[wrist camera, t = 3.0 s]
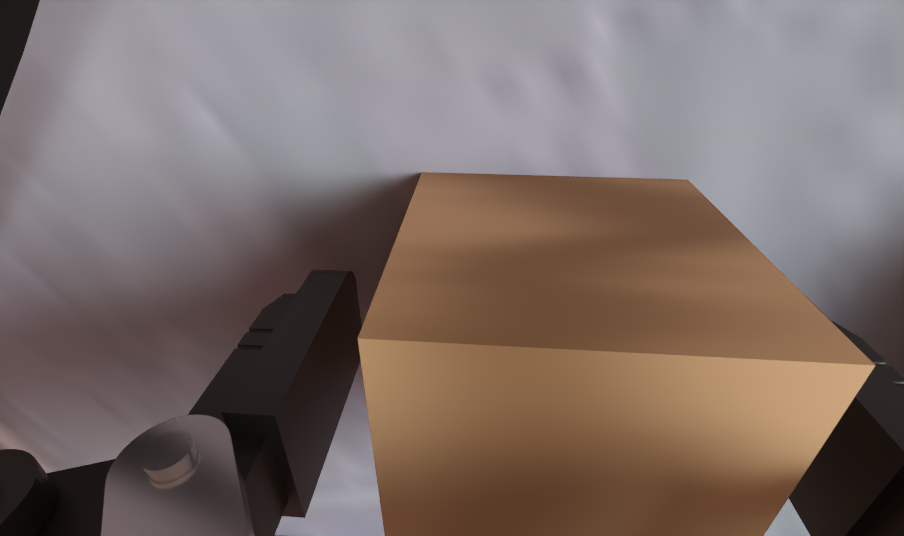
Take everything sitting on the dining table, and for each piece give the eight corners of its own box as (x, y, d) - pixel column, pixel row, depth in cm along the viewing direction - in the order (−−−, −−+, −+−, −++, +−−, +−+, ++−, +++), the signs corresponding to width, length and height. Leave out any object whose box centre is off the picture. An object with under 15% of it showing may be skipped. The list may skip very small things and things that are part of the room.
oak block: (686, 178, 9) (875, 366, 4) (631, 372, 11) (715, 608, 7) (422, 171, 9) (356, 338, 5) (428, 361, 12) (391, 579, 7)
